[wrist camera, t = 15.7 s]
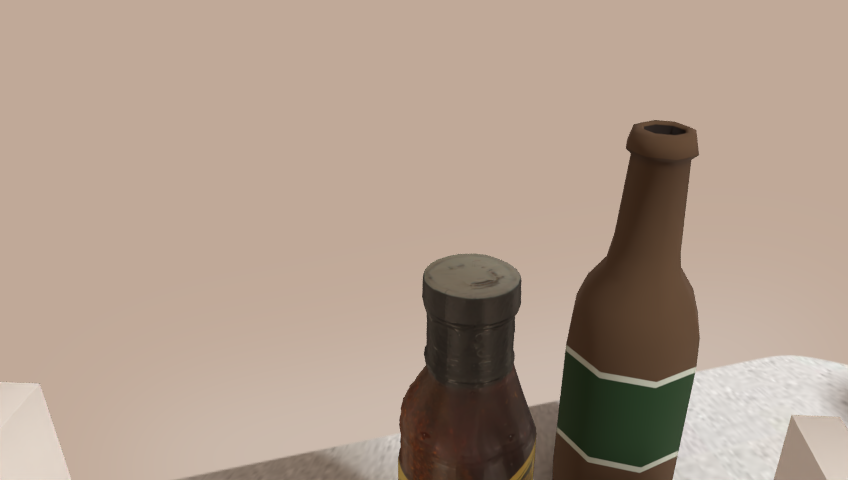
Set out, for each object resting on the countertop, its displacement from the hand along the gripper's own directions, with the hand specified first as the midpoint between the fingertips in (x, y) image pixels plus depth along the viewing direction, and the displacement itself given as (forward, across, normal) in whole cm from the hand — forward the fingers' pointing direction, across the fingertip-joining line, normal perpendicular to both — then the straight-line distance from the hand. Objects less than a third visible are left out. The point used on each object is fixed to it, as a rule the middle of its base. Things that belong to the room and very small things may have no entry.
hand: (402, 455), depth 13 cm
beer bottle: (+26, +10, -27) cm, 39 cm away
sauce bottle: (+15, 0, -25) cm, 29 cm away
